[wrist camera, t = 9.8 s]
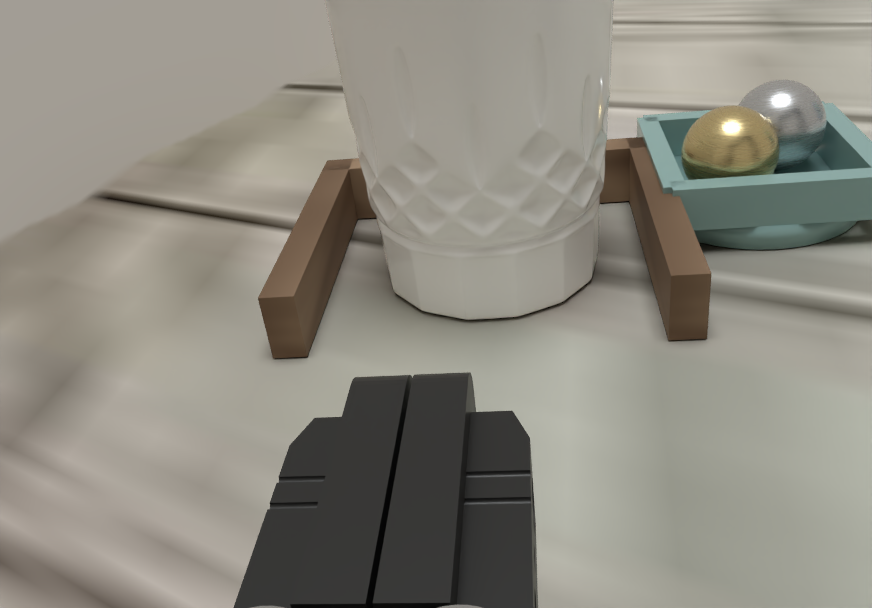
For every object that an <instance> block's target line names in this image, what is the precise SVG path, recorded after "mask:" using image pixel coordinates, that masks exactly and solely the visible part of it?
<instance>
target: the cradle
mask: <svg viewBox="0 0 872 608" xmlns="http://www.w3.org/2000/svg"><path fill="white" fill-rule="evenodd" d="M621 201H629V202H630V205H631V209H632V212H633V216H634V219H635V223H636V227H637V230H638V234H639V237H640V241H641V244H642V248H643V251H644V255H645V259H646V262H647V266H648V269H649V273H650V276H651V280H652V283H653V287H654V290H655V294H656V298H657V301H658V305H659V308H660V312H661V315H662V319H663V322H664V326H665V329H666V333H667V337H668V340H686V339H707V329H708V315H709V300H710V286H711V271H710V269H709V267H708V264H707V262H706V259H705V257H704V254H703V252H702V249H701V247H700V245H699V242H698V240H697V237H696V235H695V232H694V230H693V227H692V225H691V223H690V220H689V218H688V215H687V213H686V210H685V208H684V205H683V203H682V201H681V198H680V196H674V197H673V195H672V193H667V194H663V192H662V189H661V186H660V184H659V181H658V178H657V176H656V173H655V170H654V167H653V165H652V162H651V159H650V157H649V154H648V151H647V149H646V146H645V143H644V141H643V138H642V137H637V138H623V139H610V140H607V145H606V153H605V176H604V186H603V189H602V192H601V193H600V203H606V202H621ZM362 218H377V217H376V214H375V213H374V211H373V210H372V208H371V206H370V203H369V199H368V193H367V186H366V181H365V178H364V175H363V172H362V169H361V165H360V162H359V158H356V159H343V160H329V161H327V162H326V164H325V166H324V168H323V170H322V172H321V174H320V176H319V178H318V180H317V182H316V184H315V186H314V188H313V190H312V192H311V194H310V196H309V198H308V200H307V202H306V204H305V206H304V208H303V210H302V212H301V214H300V216H299V218H298V220H297V222H296V224H295V226H294V228H293V230H292V232H291V234H290V236H289V238H288V240H287V242H286V244H285V246H284V248H283V250H282V252H281V254H280V256H279V258H278V260H277V262H276V263H275V265H274V267H273V269H272V271H271V273H270V275H269V277H268V279H267V281H266V283H265V285H264V287H263V289H262V291H261V293H260V295H259V297H258V300H259V304H260V308H261V312H262V316H263V320H264V324H265V328H266V332H267V336H268V340H269V343H270V347H271V351H272V355H273V358H289V357H307V356H308V353H309V351H310V348H311V345H312V342H313V340H314V337H315V334H316V331H317V329H318V326H319V323H320V320H321V318H322V315H323V312H324V309H325V307H326V304H327V301H328V299H329V296H330V293H331V290H332V288H333V285H334V282H335V279H336V277H337V274H338V271H339V268H340V266H341V263H342V260H343V257H344V255H345V252H346V249H347V246H348V244H349V241H350V238H351V235H352V233H353V230H354V227H355V224H356V222H357V219H362Z"/></svg>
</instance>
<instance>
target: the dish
mask: <svg viewBox="0 0 872 608" xmlns="http://www.w3.org/2000/svg"><path fill="white" fill-rule="evenodd" d="M822 103H823V106H824V108H825V112H826V130H825V134H824V137H823V139H822V142H821V143H820V145H819V147H818V148H817V149H816V150H815V151H816V152H814V153H813V154H812V155H811V156H810V157H809V158H807V159H806V160H804V161H803V162H801V163H799V164H798V165H795V166H792V167H790V168H785V169H775V171H774V173H773V174H770V175H755V176H740V177H726V178H711V179H696V180H688V178H687V176H686V175H685V172H684V170H683V166H682V160H681V151H682V145H683V141H684V139H685V136H686V134H687V132H688V130H689V129H690V128H691V126H692V125H693V124H694V123H695V122H696V120H698V119H699V118H700V117H701V116H703V115H704V114H706V113H707V112H709V111H711V110H706V111H694V112H681V113H668V114H655V115H643V118H637V137H642V138H643V141H644V143H645V146H646V149H647V151H648V154H649V157H650V159H651V162H652V165H653V167H654V170H655V173H656V176H657V178H658V181H659V184H660V186H661V189H662V192H663V194H667V193H672V195H673V197H674V196H680V198H681V201H682V203H683V205H684V208H685V210H686V213H687V215H688V218H689V220H690V223H691V225H692V227H693V230H694V232H695V235H696V237H697V240H698V242H701V243H705V244H710V245H715V246H721V247H728V248H738V249H757V250H765V249H784V248H794V247H800V246H806V245H811V244H815V243H819V242H822V241H825V240H828V239H831V238H834V237H836V236H838V235H840V234H842V233H844V232H845V231H847V230H849V229H850V228H851V227H852V226H853V225H855V223H856V222H857V221H858V220H872V141H871V140H870V139H869V138H868V137H867V136H866V135H865V134H863V133H862V132H861V131H860V130H859V129H858V128H857V127H856V126H855V125H854V124H853V123H852V122H851V121H850V120H849V119H848V118H847V117H846V116H845V115H844V114H843V113H842V112H841V111H840V110H839V109H838V108H837V107H836V106H835V105H834V104H833V103H826V104H825V103H824V102H823V101H822Z"/></svg>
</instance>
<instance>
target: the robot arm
mask: <svg viewBox="0 0 872 608" xmlns="http://www.w3.org/2000/svg"><path fill="white" fill-rule="evenodd" d="M536 560H537V557H536V523H535V508H534V493H533V478H532V463H531V448H530V437H529V436H528V434H527V433H526V431H525V430H524V428H523V427H522V425H521V423H520V422H519V420H518V419H517V417H516V416H515V414H514V413H513V411H494V412H476V407H475V398H474V389H473V381H472V376H471V373H445V374H421V375H414V376H413V378H412V376H411V375H402V376H377V377H355V378H354V379H353V381H352V383H351V386H350V390H349V393H348V397H347V401H346V404H345V408H344V411H343V415H342V417H328V418H314V419H313V420H312V422H311V423H310V424H309V425H308V426H307V427H306V428H305V429H304V430H303V431H302V433H301V434H300V435H299V436H298V437H297V438H296V439H295V440H294V441H293V442H292V443H291V445H290V446H289V449H288V452H287V455H286V458H285V461H284V463H283V466H282V469H281V472H280V475H279V483H277V484H276V487H275V489H274V492H273V495H272V498H271V501H270V510H267V513H266V515H265V518H264V521H263V524H262V527H261V530H260V533H259V536H258V539H257V541H256V544H255V547H254V550H253V553H252V556H251V559H250V562H249V565H248V568H247V570H246V573H245V576H244V579H243V582H242V585H241V588H240V591H239V594H238V596H237V599H236V602H235V605H234V608H538V595H537V561H536Z"/></svg>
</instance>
